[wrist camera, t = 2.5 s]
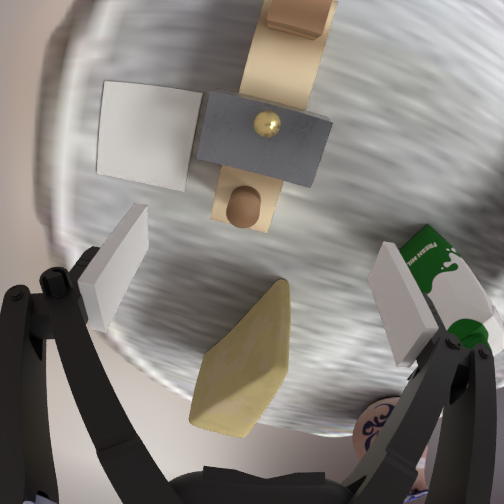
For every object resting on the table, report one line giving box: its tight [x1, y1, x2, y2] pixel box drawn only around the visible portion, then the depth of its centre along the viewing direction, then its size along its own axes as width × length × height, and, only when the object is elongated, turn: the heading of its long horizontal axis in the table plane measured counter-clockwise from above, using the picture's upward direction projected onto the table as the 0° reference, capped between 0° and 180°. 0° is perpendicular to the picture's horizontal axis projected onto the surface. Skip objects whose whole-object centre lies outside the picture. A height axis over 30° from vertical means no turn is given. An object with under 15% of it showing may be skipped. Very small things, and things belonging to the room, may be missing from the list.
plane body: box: [210, 0, 338, 233], centre depth 26 cm, size 24×6×11 cm, turn 166°
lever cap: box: [196, 89, 333, 188], centre depth 25 cm, size 6×10×4 cm, turn 76°
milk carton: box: [399, 224, 504, 357], centre depth 31 cm, size 9×9×20 cm
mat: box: [97, 81, 203, 192], centre depth 33 cm, size 12×12×1 cm
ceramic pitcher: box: [353, 397, 429, 503], centre depth 52 cm, size 18×21×25 cm
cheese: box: [189, 279, 291, 438], centre depth 43 cm, size 22×10×15 cm, turn 156°
